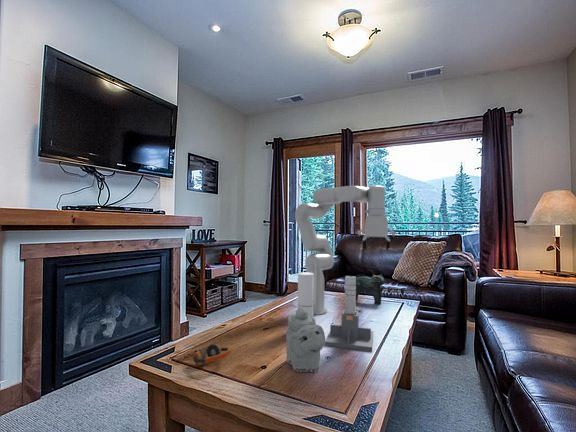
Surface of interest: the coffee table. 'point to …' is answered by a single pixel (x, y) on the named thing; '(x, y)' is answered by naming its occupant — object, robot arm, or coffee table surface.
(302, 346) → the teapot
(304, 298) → the cylindrical container
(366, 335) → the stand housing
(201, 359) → the headphones
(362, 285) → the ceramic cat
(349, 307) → the steel post
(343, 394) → the coffee table surface
